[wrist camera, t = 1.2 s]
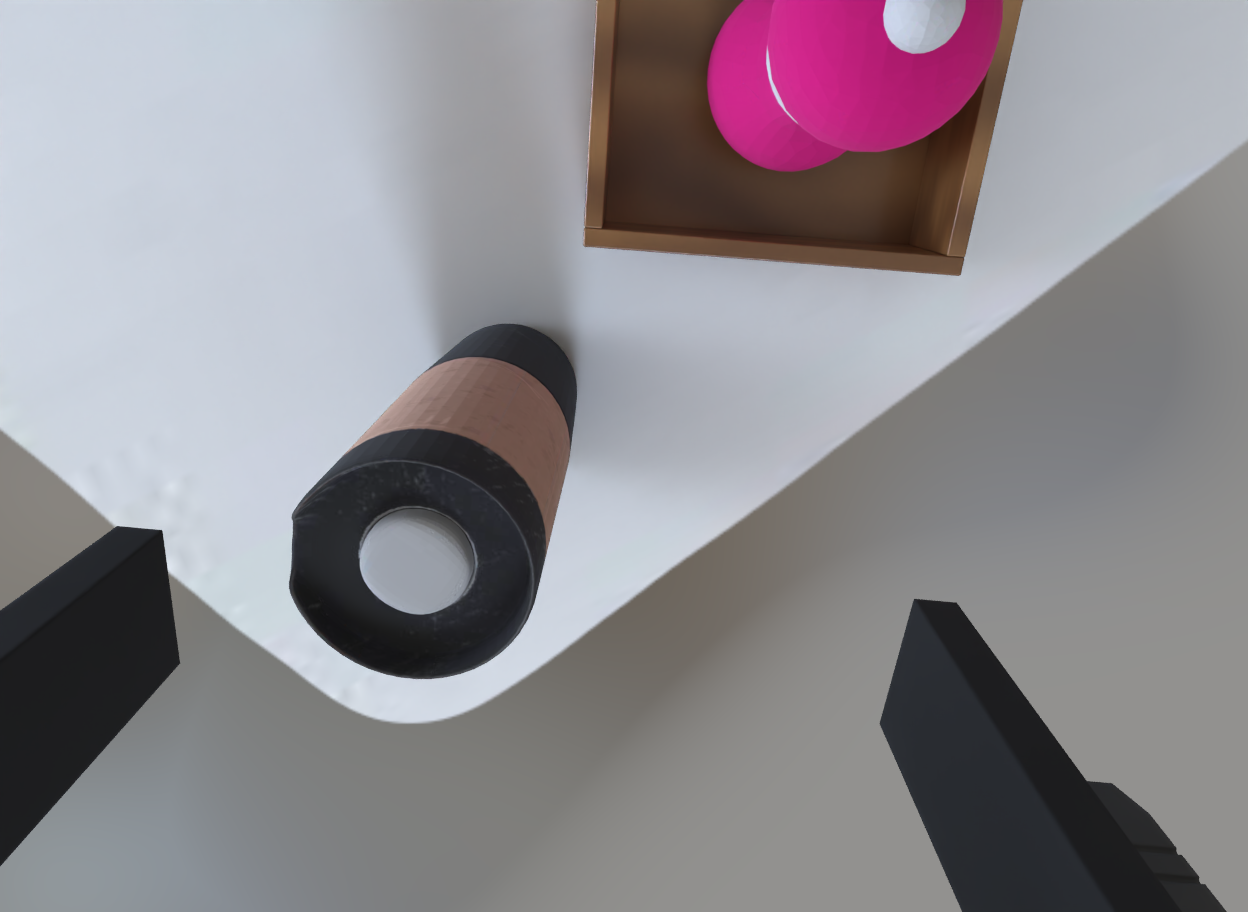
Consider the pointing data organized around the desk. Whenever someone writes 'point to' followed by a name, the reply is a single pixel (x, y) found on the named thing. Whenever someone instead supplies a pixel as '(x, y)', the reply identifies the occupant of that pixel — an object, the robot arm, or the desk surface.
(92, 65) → the desk surface
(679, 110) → the wooden box
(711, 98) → the pepper mill
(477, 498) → the travel mug
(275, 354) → the desk surface
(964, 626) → the robot arm
